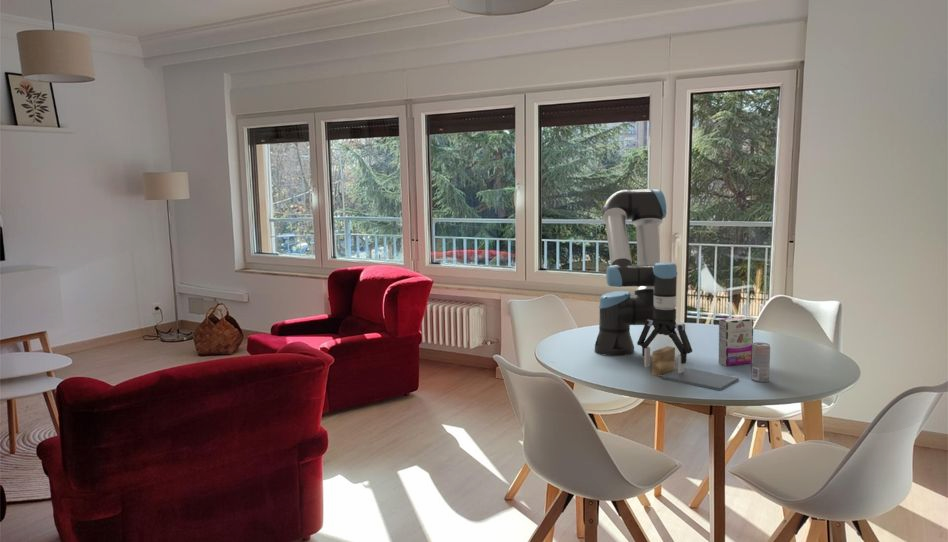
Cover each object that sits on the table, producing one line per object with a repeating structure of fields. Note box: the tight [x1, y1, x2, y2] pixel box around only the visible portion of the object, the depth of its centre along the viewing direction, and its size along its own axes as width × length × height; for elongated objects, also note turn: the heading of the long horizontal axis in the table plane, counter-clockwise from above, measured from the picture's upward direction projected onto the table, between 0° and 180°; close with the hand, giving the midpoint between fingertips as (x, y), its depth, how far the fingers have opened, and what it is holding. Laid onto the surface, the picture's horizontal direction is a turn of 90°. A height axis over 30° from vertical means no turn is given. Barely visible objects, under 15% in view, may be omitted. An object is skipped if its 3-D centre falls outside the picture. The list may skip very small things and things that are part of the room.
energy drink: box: [750, 342, 771, 383], centre depth 204 cm, size 5×5×12 cm
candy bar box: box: [718, 316, 754, 367], centre depth 224 cm, size 11×5×16 cm, turn 105°
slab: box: [651, 345, 676, 377], centre depth 216 cm, size 3×10×8 cm, turn 135°
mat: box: [661, 367, 740, 391], centre depth 207 cm, size 20×14×1 cm
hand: (663, 369), depth 216 cm, fingers open, 12 cm apart
